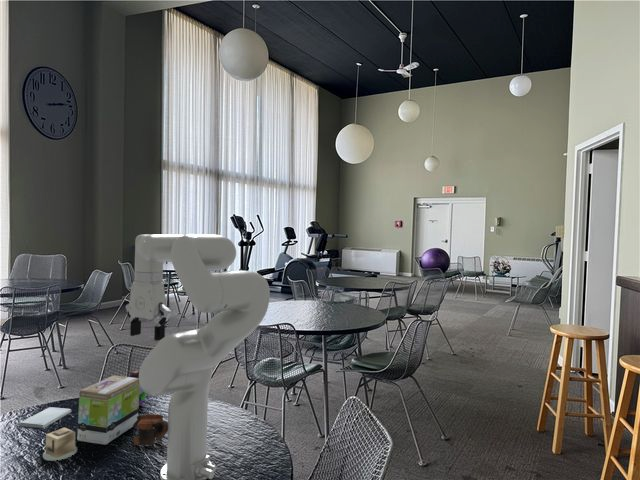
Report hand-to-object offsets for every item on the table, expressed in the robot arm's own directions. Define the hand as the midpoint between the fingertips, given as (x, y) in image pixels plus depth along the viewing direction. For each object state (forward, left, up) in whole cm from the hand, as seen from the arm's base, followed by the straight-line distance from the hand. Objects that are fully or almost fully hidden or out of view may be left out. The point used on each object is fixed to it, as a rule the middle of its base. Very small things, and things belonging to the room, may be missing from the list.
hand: (147, 337), depth 127 cm
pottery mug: (0, -2, -31) cm, 31 cm away
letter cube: (+14, +16, -30) cm, 37 cm away
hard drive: (+39, +5, -31) cm, 50 cm away
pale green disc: (+14, +16, -30) cm, 37 cm away
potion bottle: (+24, -16, -31) cm, 42 cm away
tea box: (+14, +1, -31) cm, 34 cm away
